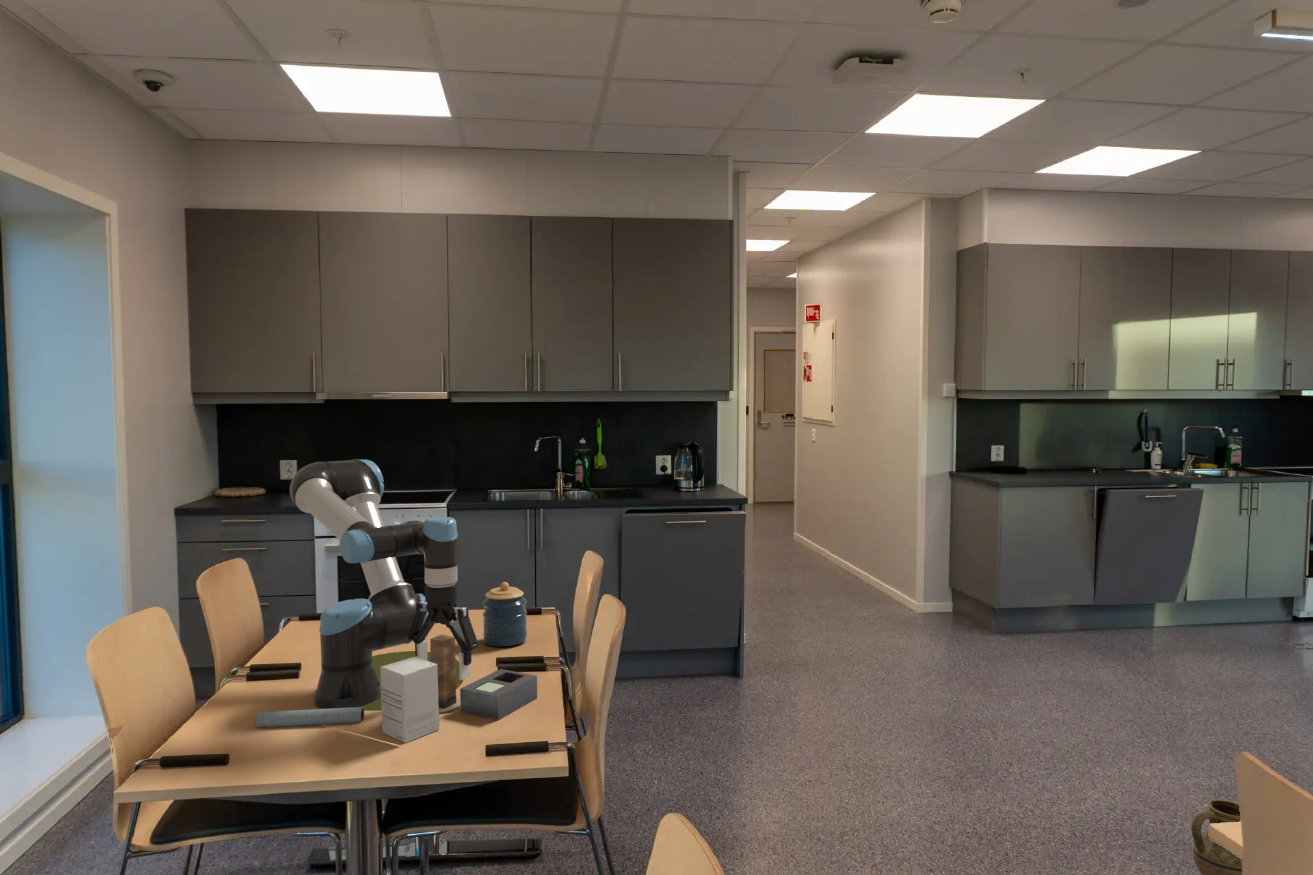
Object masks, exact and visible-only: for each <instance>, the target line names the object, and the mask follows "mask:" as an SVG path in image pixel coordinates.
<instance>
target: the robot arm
mask: <svg viewBox="0 0 1313 875" xmlns="http://www.w3.org/2000/svg"><path fill="white" fill-rule="evenodd" d="M384 491H385V485H384V477H383V474H382V472H381V470H380V468H379V466H378V465H377V463H375V462H374V461H372V460H370V459H359V458H354V459H350V460H334V461H333V460H332V461H317V462H312V463H309V464H307V465H305V466H303V467H301V468H300V469H299V470H298V471H297V472H296V473H295V474H294V476H293V477H292V479H291V482H290V485H289V495H290V496H289V497H290V499H291V500H292V502H293V504H294V505H295V507H296V508H298V509H299V510H300V511H301V512H303V513H306V514H310V515H312V516H313V517H314V518H315V519H316V520H317V521H318V522H319V523H320V524H321V525H323V527H325V528H326V529H327V530H328V531H329V532H330V533H331V534H332V535H334V536H335V537H336V538H337V540H339V551H340V554H341V555H342V559H343V560H344V561H345V562H346V563H348V564H357V563H360V566H361V568H362V571H363V575H364V576H365V581H366V583H367V586H368V590H369V592H370V595H369V596H368V599H367V598H354V599H346V600H342V601H338V602H336V603H333V604H331V605H330V606H328V607H326V608H325V609H324V610H323V611H322V612H321V614H320V621H319V622H320V623H319V630H318V631H319V638H320V639H319V640H320V661H321V663H320V666H321V671H320V674H319V678H318V679H319V680H318V683H317V687H316V689H315V691H314V693H313V694H314V698H313V699H314V706H316V707H318V709H332V708H351V707H364V706H367V705H369V704H372V703H374V702H375V701H377V700H378V699H380V698H381V682H380V681H379V679H378V676H377V673H376V670H375V668H374V665H373V653H374V652H376V651H380V650H383V649H389V648H392V647H398V646H402V645H409V644H411V643H412V642H413V643H414V651H415V652H414V653H415V657H418V658H421V659H423V660H426V661H428V657H429V656H428V641H426V640H427V637H428V634H429V633H430V632H431V630H432V629H433V627H434V626H435V624H441V625H443V626H444V625H445V627H446V628H448V629H449V630H450V632H451V634H452V636H454V638H455V642H456V643H457V645H458V647H459V648H460V650H461V651H459V652H458V665H459V666H458V668H459V670H458V671H459V675H458V676H459V679H458V680H459V681H464V680H465V679H469V678H470V676H471V675H470V674H471V671H470V670H471V669H470V665H471V664H472V661H473V660H472V651H473V650H475V649H478V648H479V646H480V644H479V641H478V639H477V636H476V633H475V630H474V628H473V625H472V622H471V619H470V616H469V607H468V606H463V607H459V606H458V604H457V602H458V599H459V585H458V583H457V582H458V580H459V579H458V577H459V576H458V575H459V574H458V573H459V572H458V570H459V569H458V566H459V565H458V561H459V560H458V554H459V553H458V537H459V534H458V529H457V528H458V527H457V521H456V519H455V518H454V517H452V516H451V517H450V516H434V517H428V518H426V519H425V520H424V521H422V520H421V521H420V520H416V519H415V520H411V519H410V520H405V521H403V522H401V523H400V524H393V525H386V526H385V525H384V521H383V518H382V515H381V512H380V510H379V507H378V505H379V504H380V503H381V500H382V496H383V494H384ZM416 554H417V555H422V556H423V557H424V559H423V560H424V584H426V585H424V586H425V587H424V594H423V593H415V590H414V588H413V585H412V584H411V583H408V582H405V581H404V580H405V579H404V578H403V574H402V572H401V570H400V567H399V564H398V560H397V558H398V557H403V556H410V555H416Z"/></svg>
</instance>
